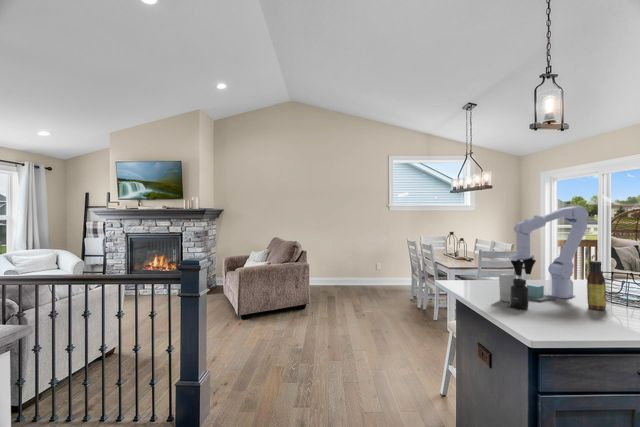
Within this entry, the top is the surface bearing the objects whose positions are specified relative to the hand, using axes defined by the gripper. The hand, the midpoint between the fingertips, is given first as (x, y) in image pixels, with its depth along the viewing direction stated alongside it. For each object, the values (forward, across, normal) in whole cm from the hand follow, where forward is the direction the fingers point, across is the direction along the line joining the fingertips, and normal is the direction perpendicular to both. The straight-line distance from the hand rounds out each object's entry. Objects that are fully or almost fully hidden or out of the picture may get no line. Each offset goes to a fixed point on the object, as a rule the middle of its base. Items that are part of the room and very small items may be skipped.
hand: (523, 274), depth 177 cm
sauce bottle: (+11, -4, +29) cm, 31 cm away
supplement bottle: (+11, +22, +12) cm, 27 cm away
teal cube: (+9, -1, +5) cm, 11 cm away
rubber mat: (+10, -1, +5) cm, 12 cm away
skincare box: (+11, +15, +2) cm, 18 cm away
